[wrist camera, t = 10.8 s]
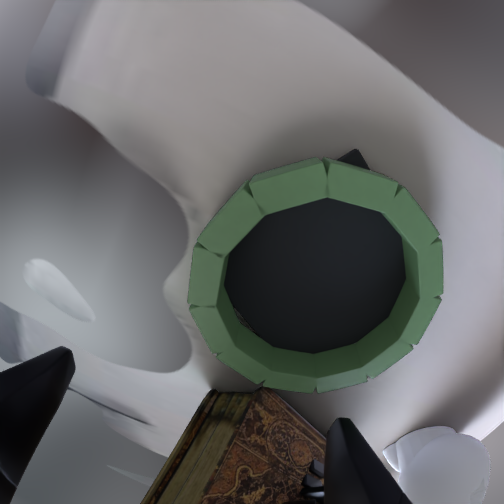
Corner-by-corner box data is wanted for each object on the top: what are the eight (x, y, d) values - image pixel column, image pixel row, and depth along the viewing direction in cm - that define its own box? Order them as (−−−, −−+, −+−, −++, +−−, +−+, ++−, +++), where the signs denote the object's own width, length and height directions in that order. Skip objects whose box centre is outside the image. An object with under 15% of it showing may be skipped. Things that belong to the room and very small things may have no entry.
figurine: (436, 402, 22) (478, 529, 9) (486, 412, 23) (523, 506, 10) (367, 458, 27) (380, 567, 13) (425, 462, 28) (444, 549, 14)
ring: (276, 393, 21) (275, 416, 19) (150, 245, 17) (133, 262, 15) (449, 308, 17) (464, 328, 15) (367, 108, 13) (382, 105, 11)
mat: (292, 367, 21) (293, 373, 20) (195, 253, 18) (192, 257, 17) (427, 294, 18) (430, 299, 17) (355, 148, 15) (358, 149, 14)
